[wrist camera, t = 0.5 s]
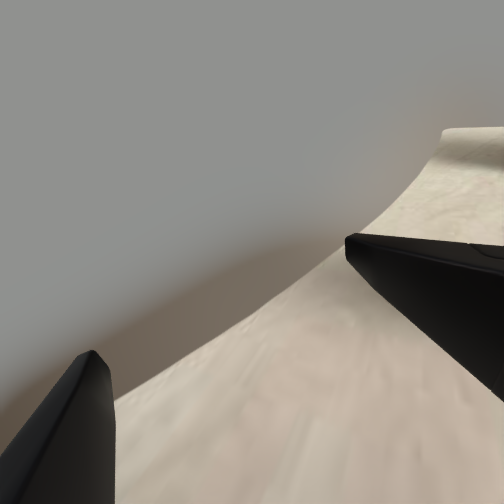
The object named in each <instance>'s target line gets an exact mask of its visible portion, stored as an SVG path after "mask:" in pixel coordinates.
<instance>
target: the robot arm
mask: <svg viewBox="0 0 504 504" xmlns="http://www.w3.org/2000/svg"><path fill="white" fill-rule="evenodd" d="M345 255H346V259H347V261H348V262H349V263H350V264H351V265H352V266H353V267H354V268H355V270H356V271H357V272H358V273H359V274H360V275H361V276H362V277H363V278H364V279H365V280H366V281H367V282H368V283H369V285H370V286H371V287H372V288H373V289H374V290H376V291H377V292H378V293H379V294H380V295H381V296H382V297H383V298H385V299H386V300H387V301H388V302H389V303H390V304H391V305H393V306H394V307H395V308H396V309H397V310H398V311H400V312H401V313H402V314H403V315H404V316H405V317H406V318H408V319H409V320H410V321H411V322H412V323H413V324H415V325H416V326H417V327H418V328H419V329H420V330H421V331H423V332H424V333H425V334H426V335H427V336H428V337H429V338H431V339H432V340H433V341H434V342H435V343H436V344H438V345H439V346H440V347H441V348H442V349H443V350H444V351H446V352H447V353H448V354H449V355H450V356H451V357H453V358H454V359H455V360H456V361H457V362H458V363H459V364H461V365H462V366H463V367H464V368H465V369H466V370H468V371H469V372H470V373H471V374H472V375H473V376H474V377H476V378H477V379H478V380H479V381H480V382H481V383H482V384H484V385H485V386H486V387H487V388H488V389H490V390H491V391H492V392H493V393H494V394H495V395H496V396H497V397H498V398H500V399H501V400H502V401H503V402H504V246H496V245H483V244H472V243H470V244H467V243H461V242H450V241H439V240H428V239H417V238H406V237H395V236H384V235H373V234H362V233H354V234H352V235H350V236H347V237H346V238H345ZM115 443H116V421H115V410H114V401H113V392H112V382H111V373H110V370H109V367H108V366H107V364H106V363H105V362H104V361H103V360H102V358H101V357H100V356H99V355H98V354H97V352H96V351H94V350H90V351H87V352H85V353H83V354H81V355H79V356H77V357H76V359H75V360H74V361H73V362H72V364H71V365H70V366H69V368H68V369H67V370H66V372H65V373H64V374H63V376H62V377H61V378H60V379H59V381H58V382H57V383H56V384H55V386H54V387H53V389H52V390H51V391H50V392H49V394H48V395H47V396H46V397H45V399H44V400H43V401H42V403H41V404H40V405H39V406H38V408H37V409H36V410H35V412H34V413H33V414H32V416H31V417H30V418H29V419H28V421H27V422H26V423H25V425H24V426H23V427H22V428H21V430H20V431H19V432H18V434H17V435H16V437H14V439H13V440H12V441H11V443H10V444H9V445H8V447H7V448H6V449H5V450H4V452H3V453H2V454H1V456H0V504H115Z"/></svg>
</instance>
